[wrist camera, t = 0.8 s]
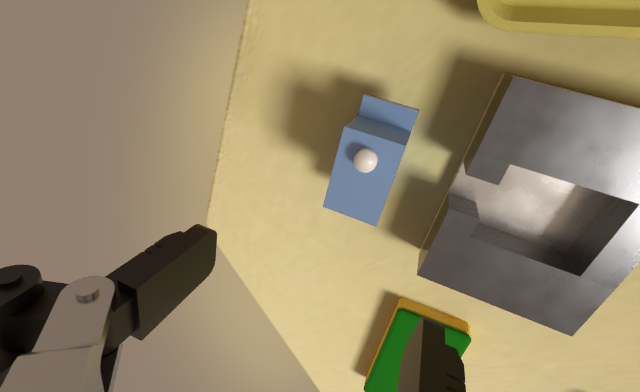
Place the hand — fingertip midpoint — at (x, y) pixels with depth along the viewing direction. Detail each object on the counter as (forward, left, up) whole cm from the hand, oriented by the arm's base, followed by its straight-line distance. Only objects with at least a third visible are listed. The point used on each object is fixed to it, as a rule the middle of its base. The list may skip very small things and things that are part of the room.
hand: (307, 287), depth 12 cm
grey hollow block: (0, +12, -18) cm, 22 cm away
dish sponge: (+21, +10, -19) cm, 30 cm away
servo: (0, 0, -18) cm, 18 cm away
